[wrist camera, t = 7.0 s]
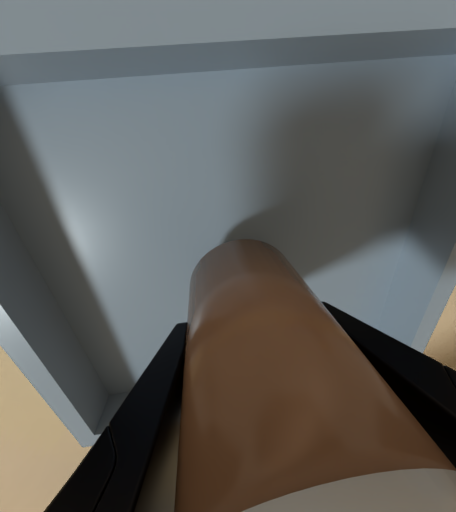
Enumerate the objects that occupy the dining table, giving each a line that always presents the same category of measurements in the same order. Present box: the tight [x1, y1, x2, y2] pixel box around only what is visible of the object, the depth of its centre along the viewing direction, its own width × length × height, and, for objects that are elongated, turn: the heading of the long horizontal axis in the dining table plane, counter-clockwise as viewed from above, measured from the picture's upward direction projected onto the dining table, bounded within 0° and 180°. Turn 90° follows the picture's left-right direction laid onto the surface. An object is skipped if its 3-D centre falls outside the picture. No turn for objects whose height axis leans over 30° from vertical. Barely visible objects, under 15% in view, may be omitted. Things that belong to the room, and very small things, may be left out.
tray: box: [0, 0, 456, 447], centre depth 10 cm, size 18×20×3 cm
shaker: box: [174, 239, 456, 512], centre depth 6 cm, size 5×5×8 cm
